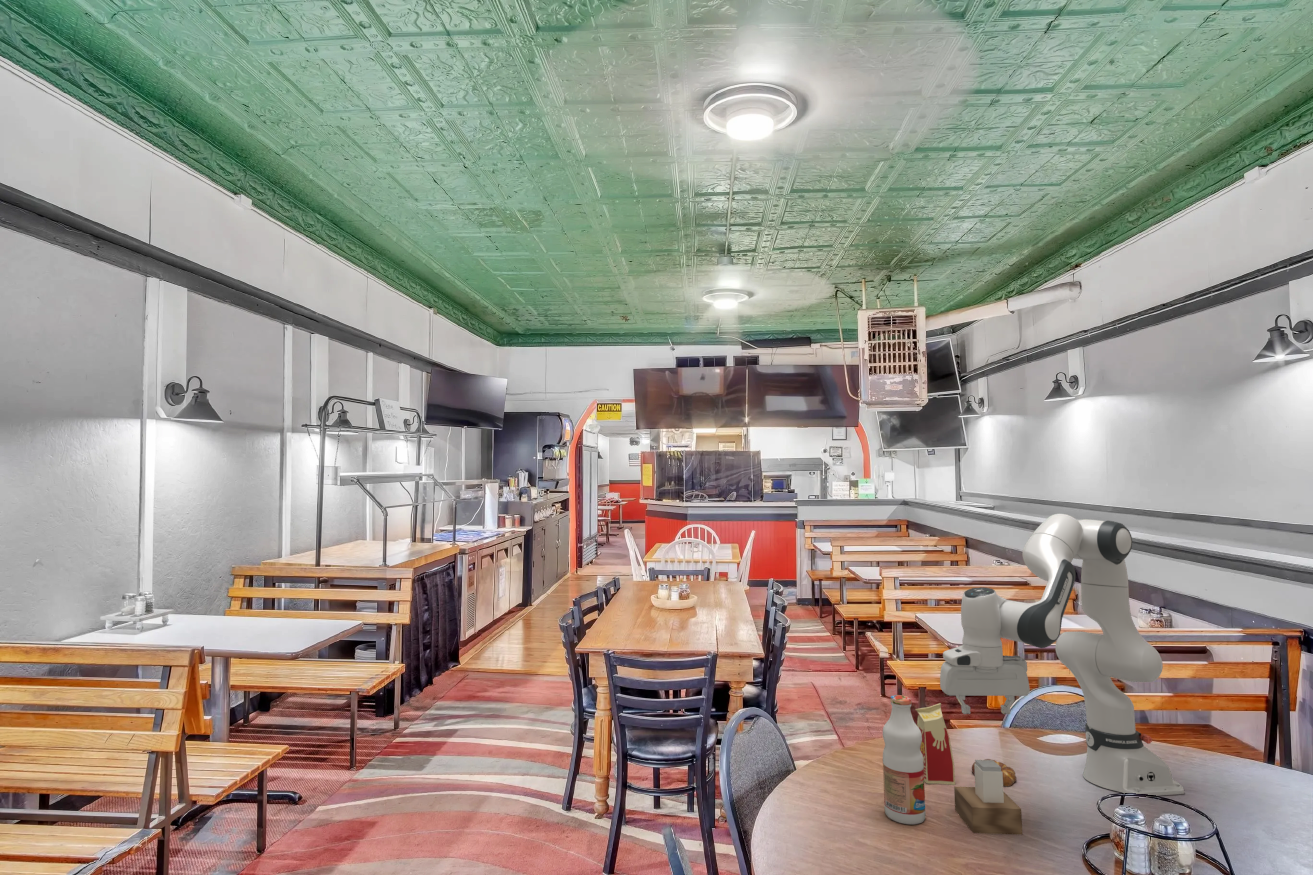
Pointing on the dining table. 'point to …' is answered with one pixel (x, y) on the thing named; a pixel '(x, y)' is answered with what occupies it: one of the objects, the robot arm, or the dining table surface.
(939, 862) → the dining table surface
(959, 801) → the block
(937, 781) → the milk carton
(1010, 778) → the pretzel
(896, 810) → the fruit juice
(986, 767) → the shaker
